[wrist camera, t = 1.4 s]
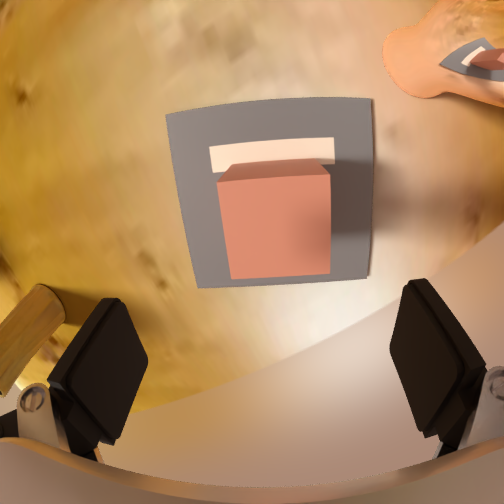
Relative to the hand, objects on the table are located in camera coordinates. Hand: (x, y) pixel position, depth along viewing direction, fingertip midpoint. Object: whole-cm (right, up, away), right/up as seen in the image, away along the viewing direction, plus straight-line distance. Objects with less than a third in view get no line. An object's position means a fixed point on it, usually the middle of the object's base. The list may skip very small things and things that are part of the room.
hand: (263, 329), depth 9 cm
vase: (-26, -4, +20) cm, 34 cm away
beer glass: (+12, +17, +7) cm, 22 cm away
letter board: (+2, +7, +13) cm, 14 cm away
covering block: (+1, +6, +12) cm, 14 cm away
